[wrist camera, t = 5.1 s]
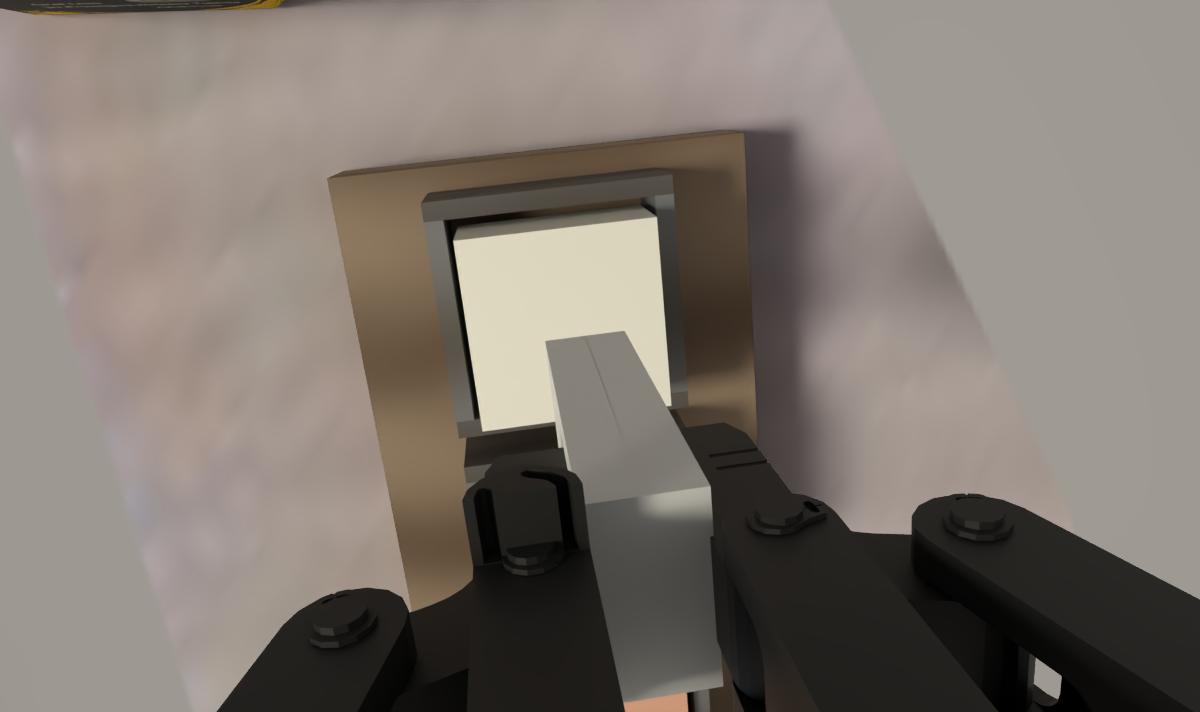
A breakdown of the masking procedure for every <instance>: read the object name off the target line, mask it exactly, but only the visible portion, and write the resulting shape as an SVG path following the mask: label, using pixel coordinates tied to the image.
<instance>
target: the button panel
mask: <svg viewBox="0 0 1200 712" xmlns="http://www.w3.org/2000/svg"><path fill="white" fill-rule="evenodd" d="M327 180H328V186H329V191H330V196H331V201H332V206H333V211H334V216H335V221H336V226H337V231H338V236H339V242H340V247H341V252H342V257H343V262H344V267H345V272H346V277H347V282H348V287H349V292H350V297H351V303H352V308H353V313H354V318H355V323H356V328H357V333H358V338H359V343H360V348H361V353H362V359H363V364H364V369H365V374H366V379H367V384H368V389H369V394H370V399H371V404H372V409H373V415H374V420H375V425H376V430H377V435H378V440H379V445H380V450H381V455H382V460H383V465H384V471H385V476H386V481H387V486H388V491H389V496H390V501H391V506H392V511H393V516H394V521H395V527H396V532H397V537H398V542H399V547H400V552H401V557H402V562H403V567H404V572H405V577H406V583H407V588H408V593H409V598H410V603H411V608H412V612H413V611H416V610H419V609H421V608H424V607H427V606H430V605H432V604H435V603H437V602H439V601H442V600H444V599H446V598H448V597H450V596H452V595H453V594H455V593H456V592H458V591H460V590H461V589H463V588H464V587H465V586H466V585H467V584H468V583H469V582H470V581H471V580H473V563H472V557H471V551H470V545H469V539H468V533H467V528H466V522H465V516H464V510H463V504H462V500H463V498H464V495H465V493H466V491H467V489H469V488H470V487H471V486H473V485H474V484H475V483H476V482H478V481H479V480H480V479H482V478H485V472H486V471H487V470H488V468H489V467H490V466H491V465H492V464H493V463H494V461H495V460H496V459H497V458H498V457H499V456H505V455H512V454H519V453H527V452H534V451H541V450H548V449H555V448H558V440H557V432H556V424H555V422H549V423H542V424H535V425H527V426H520V427H513V428H506V429H498V430H491V431H484V432H483V431H482V425H481V418H480V412H479V405H478V399H477V392H476V386H475V379H474V373H473V366H472V360H471V354H470V347H469V341H468V334H467V328H466V321H465V315H464V308H463V302H462V295H461V289H460V282H459V276H458V269H457V263H456V256H455V250H454V243H453V240H454V237H455V233H456V230H457V227H458V226H463V225H471V224H480V223H488V222H497V221H506V220H514V219H523V218H531V217H540V216H549V215H557V214H566V213H575V212H583V211H592V210H600V209H609V208H618V207H626V206H635V205H641V206H642V207H644V208H645V209H647V210H648V211H649V212H651V213H652V214H653V215H655V216H656V217H657V225H658V238H659V251H660V263H661V276H662V289H663V302H664V315H665V328H666V341H667V354H668V367H669V380H670V393H671V406H666V407H667V408H668V410H669V412H670V414H671V416H672V417H673V419H674V421H675V423H676V425H677V426H678V428H679V429H680V428H687V427H694V426H701V425H708V424H715V423H722V422H725V423H727V424H729V425H731V426H733V427H735V428H737V429H739V430H741V431H743V432H745V433H747V434H748V436H749V437H750V438H751V440H752V441H753V442H754V444H755V445H756V446H757V448H758V440H757V417H756V395H755V372H754V349H753V326H752V303H751V281H750V258H749V235H748V212H747V189H746V167H745V144H744V133H741V132H734V131H726V130H717V131H708V132H699V133H690V134H680V135H671V136H662V137H653V138H644V139H635V140H626V141H616V142H607V143H598V144H589V145H580V146H571V147H561V148H552V149H543V150H534V151H525V152H516V153H507V154H497V155H488V156H479V157H470V158H461V159H452V160H442V161H433V162H424V163H415V164H406V165H397V166H388V167H378V168H369V169H360V170H351V171H343V172H340V173H338V174H336V175H334V176H332V177H330V178H327ZM721 656H722V672H723V687H717V688H711V689H705V690H699V691H693V692H687V703H688V712H734V709H733V693H732V676H731V674H730V671H729V669H728V666H727V664H726V662H725V659H724V657H723V654H722V652H721Z"/></svg>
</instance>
